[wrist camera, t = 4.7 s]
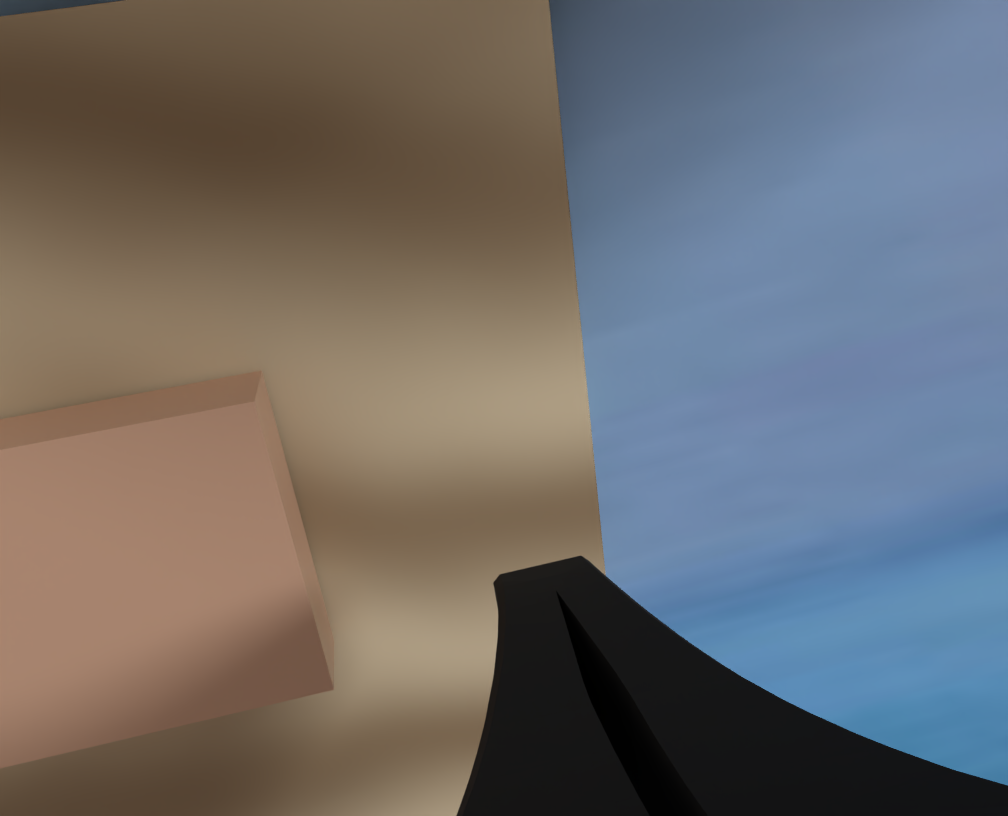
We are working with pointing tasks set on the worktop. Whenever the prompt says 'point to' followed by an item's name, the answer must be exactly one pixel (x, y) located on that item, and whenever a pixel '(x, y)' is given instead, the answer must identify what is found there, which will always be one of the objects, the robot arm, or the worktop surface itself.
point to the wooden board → (314, 345)
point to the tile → (151, 569)
